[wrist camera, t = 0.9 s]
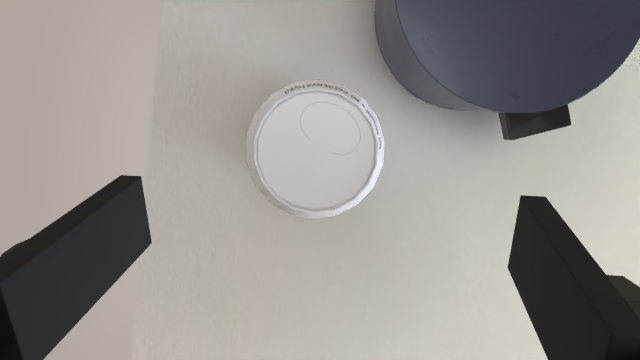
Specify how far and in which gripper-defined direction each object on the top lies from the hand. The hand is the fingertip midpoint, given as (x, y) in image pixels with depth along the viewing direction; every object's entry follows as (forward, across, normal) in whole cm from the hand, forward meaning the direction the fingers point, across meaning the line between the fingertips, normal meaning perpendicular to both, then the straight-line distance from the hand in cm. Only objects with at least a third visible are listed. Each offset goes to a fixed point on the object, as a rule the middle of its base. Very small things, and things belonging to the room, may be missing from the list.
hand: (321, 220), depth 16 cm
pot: (+29, +9, +5) cm, 31 cm away
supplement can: (+24, -4, -5) cm, 25 cm away
